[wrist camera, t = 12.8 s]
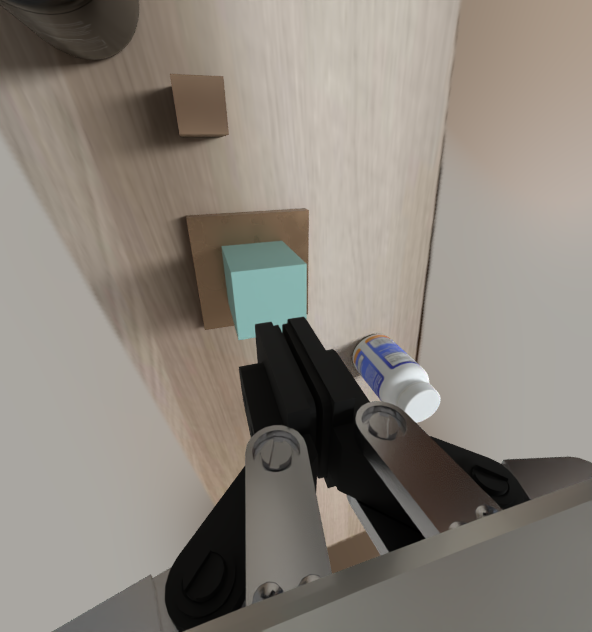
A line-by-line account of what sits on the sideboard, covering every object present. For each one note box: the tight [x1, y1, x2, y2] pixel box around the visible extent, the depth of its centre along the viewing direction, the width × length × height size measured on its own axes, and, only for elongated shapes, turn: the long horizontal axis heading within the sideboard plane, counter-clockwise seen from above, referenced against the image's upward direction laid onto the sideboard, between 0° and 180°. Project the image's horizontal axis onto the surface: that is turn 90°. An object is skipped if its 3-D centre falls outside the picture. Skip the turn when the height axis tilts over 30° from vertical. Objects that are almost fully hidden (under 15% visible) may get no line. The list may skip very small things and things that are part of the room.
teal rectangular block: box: [221, 241, 307, 340], centre depth 25 cm, size 5×5×7 cm
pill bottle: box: [353, 334, 440, 422], centre depth 34 cm, size 5×5×10 cm
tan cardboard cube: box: [170, 74, 229, 137], centre depth 21 cm, size 3×3×4 cm
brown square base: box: [186, 208, 309, 330], centre depth 26 cm, size 10×10×7 cm
